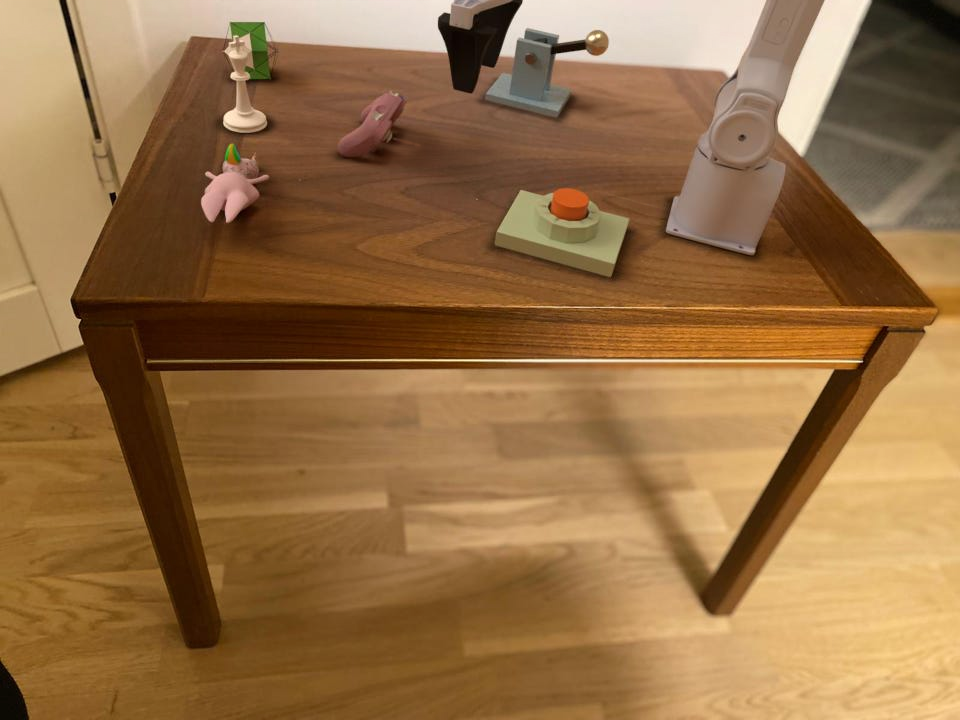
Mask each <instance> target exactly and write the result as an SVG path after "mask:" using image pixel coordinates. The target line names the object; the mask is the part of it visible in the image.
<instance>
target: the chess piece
mask: <svg viewBox="0 0 960 720" xmlns="http://www.w3.org/2000/svg"><path fill="white" fill-rule="evenodd" d="M233 39H234V42H232V41H229V42H228V46H229V47H230V48H235V51H232V52H230V53H229V56H228V58H229V62H230V64H231V66H232V69H233V71H234V72H233V71H232V72H231V73H230V77H229V78H230V79H231V80H233V81H235V82H236V98H235V99H236V101H235V103H236V104H235V107H234V108H233V109H230V110H229V111H227V112H226V113H225V114H224V115H223V119H222V120H223V126H224V127H225V128H226V129H227V130H229V131H232V132H234V133H240V134H251V133H256V132H260V131H262V130H264V129H265V128H266V127H267V125H268V121H267V116H266V115H265V114H264V113H263V112H262V111H260V110H258V109H255V108H254V107H252V104H251V101H250V96H249V92H248V88H247V87H248V86H247V83H246V82H247V81H248V80H251V79H250V75H249V73H247V72H245V71H244V70H245V67H246V61H247V58H248V55H247V54H246V53H245V52H243V51H240V46H245V41H243V40H241V41H239V36H237V35H235V36H233Z"/></svg>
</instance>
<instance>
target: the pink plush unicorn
mask: <svg viewBox="0 0 960 720" xmlns="http://www.w3.org/2000/svg"><path fill="white" fill-rule="evenodd" d="M256 153H257V152H256V151H255V152H254V155H253V156H252V157H251V159H249V158H242V156H241V155H240V154H239V151H238V150H237V147H236V145H235V144H234V143H230V144H228V147H227V149H226V152H225V155H224V161H223V162H222V163H223V164H222V172H223V173H219V174H218V175H214V174H213V173H212V172H211V171H206V172H205V173H204V174H205V176H206V177H207V178H208V179H210V180H212V181H211V182H210V183H209V185H207V187H205V189H204V195H203V196H202V197H201V199H200V204H201V209H202V211H203V213H204V216H205V217H206V219H207V220H208V222H210V223H214V222H215V221H216V218H217V216H218V215H219V214H220V211H224V216H225V222H226V224H230V223H232V222H233V221H234V219H235V218H236V217H237V216H238V215H239V213H240V212H241V211H243V210H245V209H246V208H248V207H249V206H250V205H251V204H253V203H254V202H255V201H257V200H258V199H259V197H260V192H259V190H258V189H257V188H256V187H255V186H254V185H255V184H259V183H262V182H266V181H267V180H269V179H270V176H269V175H268V174H263V175H261V176H259V173H260V169H259V167H261V165H260V162H259V160H258V157H257V155H256ZM258 176H259V177H258Z"/></svg>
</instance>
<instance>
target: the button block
mask: <svg viewBox="0 0 960 720" xmlns="http://www.w3.org/2000/svg"><path fill="white" fill-rule="evenodd" d="M553 194H554V192H550V193H547V194H545V195H542V194H538V193H535V192H531V191H528V190H527V191H526V190H523V189H520V190H519V192H518V194H517V196H516V197H515V199H514V200H513V203H512V204H511V206H510V208H509V210H508V211H507V213H506V215H505V216H504V218H503V220H502V222H501V223H500V225H499V227H498V228H497V230H496V234H495V239H494V246H496V247H499V248H504V249H507V250H510V251H515V252H518V253H521V254H525V255H529V256H532V257H536V258H540V259H542V260H547V261H550V262H554V263H557V264H561V265H563V266H564V265H565V266H568V267H571V268H576V269H579V270H583V271H586V272H590V273H593V274H596V275H597V274H598V275H601V276H605V277H608V278H612V275H613V272H614V270H615V267H616V263H617V260H618V257H619V254H620V251H621V248H622V245H623V242H624V239H625V235H626V232H627V229H628V225H629V223H630V218H629V217H625V216H622V215H618V214H615V213H610V212H607V211H603V210H600V209H599V207H598V205H597V204H596V203H594V201H591V200H590V199H589V204H588V208H587V212H586V216H585V218H584V219H583V220H581V221H567V220H563V219H559V218H557V217H556V216H554V215H553V214H552V213H551V211H550V208H551V203H552V199H553Z"/></svg>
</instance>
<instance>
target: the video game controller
mask: <svg viewBox="0 0 960 720" xmlns="http://www.w3.org/2000/svg"><path fill="white" fill-rule="evenodd" d="M407 102H408V100H407V98H405V97H404V96H403V95H401V94H399V93H398V92H396V93H395V92H393V91H392V90H391V89H390V90H389V91H388V92H386V93H384V94H383V95H379V96H378V97H377V98H375V99H374V100H373V102H372V103H371V104H369V105H367V106H366V107H365V108H364V109H363V110H362V112H361V114H360V120H361V122H362V124H361V125H360V126H358V128H356V129H354V130H353V131H351V132H349V133H348V134H345V135H344V136H343V137H341V139H340V140H339V141H338V143H337V151H338V153H339V155H341V156H342V157H345V158H357V157H360V156H363V155H365V154H367V153H368V152H370V151H371V152H373V153H375V152H376V150H377V149H378V147H379V146H380V144H381V143H382V142H385V143H386V144H387V143H389V142H390V141H391V139H392V138H393V133H392V130H391V128H392V127H393V125H394V123H395V122H396V121H397V120H398V119H399V118H400V117H401V116H402V114H403V112H404V108H405V106H406V104H407Z"/></svg>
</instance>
